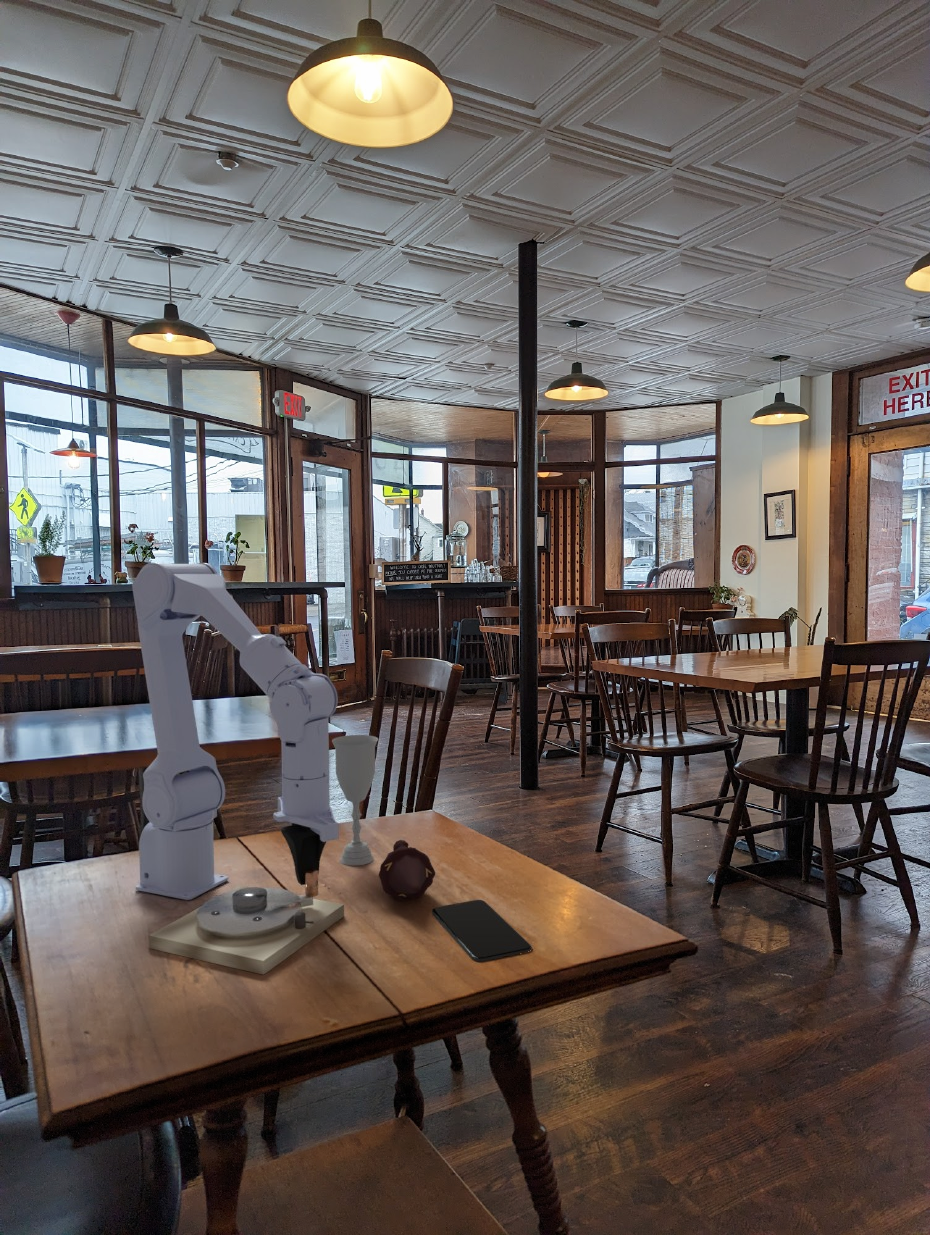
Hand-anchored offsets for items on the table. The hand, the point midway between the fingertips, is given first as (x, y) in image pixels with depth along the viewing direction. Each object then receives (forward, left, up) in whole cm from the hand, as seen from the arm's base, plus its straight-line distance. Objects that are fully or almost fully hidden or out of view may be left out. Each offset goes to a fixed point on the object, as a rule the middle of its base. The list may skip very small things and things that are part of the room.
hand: (307, 882), depth 101 cm
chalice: (-5, +20, -4) cm, 21 cm away
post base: (-4, -6, -4) cm, 9 cm away
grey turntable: (-3, -5, -2) cm, 7 cm away
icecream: (+9, +10, -4) cm, 14 cm away
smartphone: (+21, +5, -5) cm, 22 cm away
